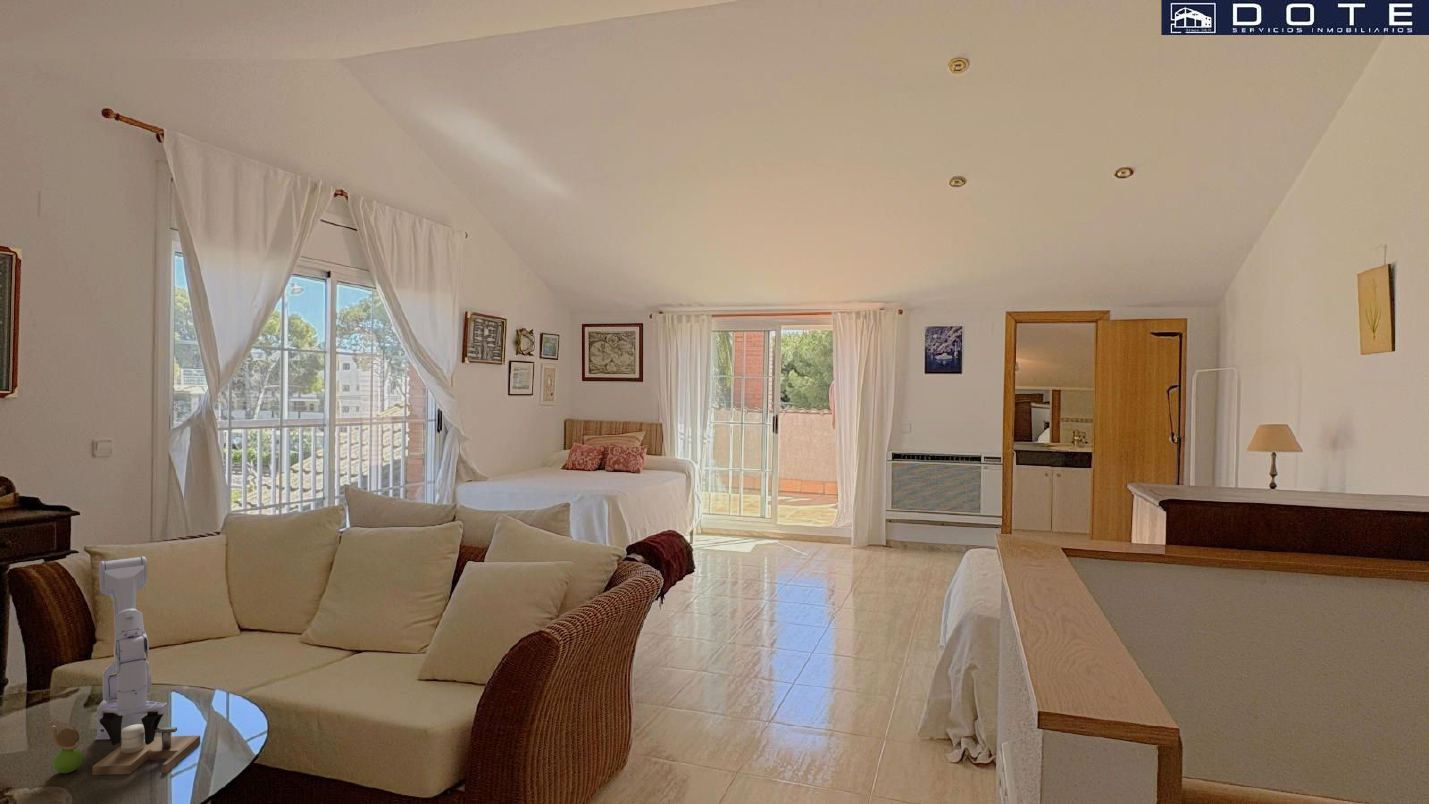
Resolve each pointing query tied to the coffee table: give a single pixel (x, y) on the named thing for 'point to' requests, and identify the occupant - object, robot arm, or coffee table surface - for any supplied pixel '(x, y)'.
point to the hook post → (166, 736)
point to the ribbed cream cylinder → (132, 738)
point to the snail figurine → (66, 749)
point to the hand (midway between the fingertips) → (133, 743)
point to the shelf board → (147, 756)
